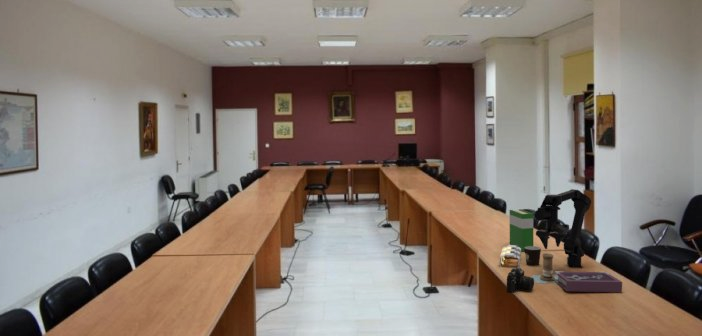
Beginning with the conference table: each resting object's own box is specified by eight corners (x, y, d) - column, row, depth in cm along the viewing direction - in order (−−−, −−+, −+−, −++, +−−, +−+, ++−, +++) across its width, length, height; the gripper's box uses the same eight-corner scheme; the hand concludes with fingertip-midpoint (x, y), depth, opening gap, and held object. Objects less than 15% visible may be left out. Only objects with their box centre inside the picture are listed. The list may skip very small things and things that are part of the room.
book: (605, 281, 251) (606, 271, 251) (622, 292, 235) (622, 281, 235) (553, 280, 252) (554, 271, 252) (566, 291, 236) (567, 280, 235)
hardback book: (509, 246, 331) (509, 209, 329) (520, 245, 332) (520, 209, 330) (522, 252, 314) (521, 214, 312) (533, 251, 315) (533, 213, 313)
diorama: (519, 269, 278) (519, 246, 277) (499, 268, 281) (499, 245, 280) (521, 258, 301) (521, 236, 300) (503, 257, 305) (502, 236, 304)
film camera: (534, 296, 233) (534, 275, 233) (506, 294, 238) (506, 273, 237) (534, 284, 250) (534, 265, 249) (507, 283, 254) (507, 263, 254)
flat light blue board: (559, 277, 261) (559, 275, 261) (565, 285, 247) (565, 283, 247) (531, 276, 264) (531, 274, 264) (535, 284, 250) (535, 283, 250)
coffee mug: (542, 267, 279) (542, 249, 278) (525, 267, 281) (525, 249, 280) (538, 262, 290) (538, 245, 290) (523, 261, 292) (522, 244, 291)
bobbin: (549, 275, 259) (549, 252, 258) (557, 280, 253) (558, 256, 251) (537, 277, 258) (537, 253, 256) (545, 282, 251) (546, 257, 249)
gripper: (552, 222, 258) (552, 253, 259) (576, 218, 267) (576, 248, 268) (535, 219, 267) (535, 249, 268) (559, 216, 276) (559, 244, 277)
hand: (552, 247), depth 270 cm, fingers open, 9 cm apart
